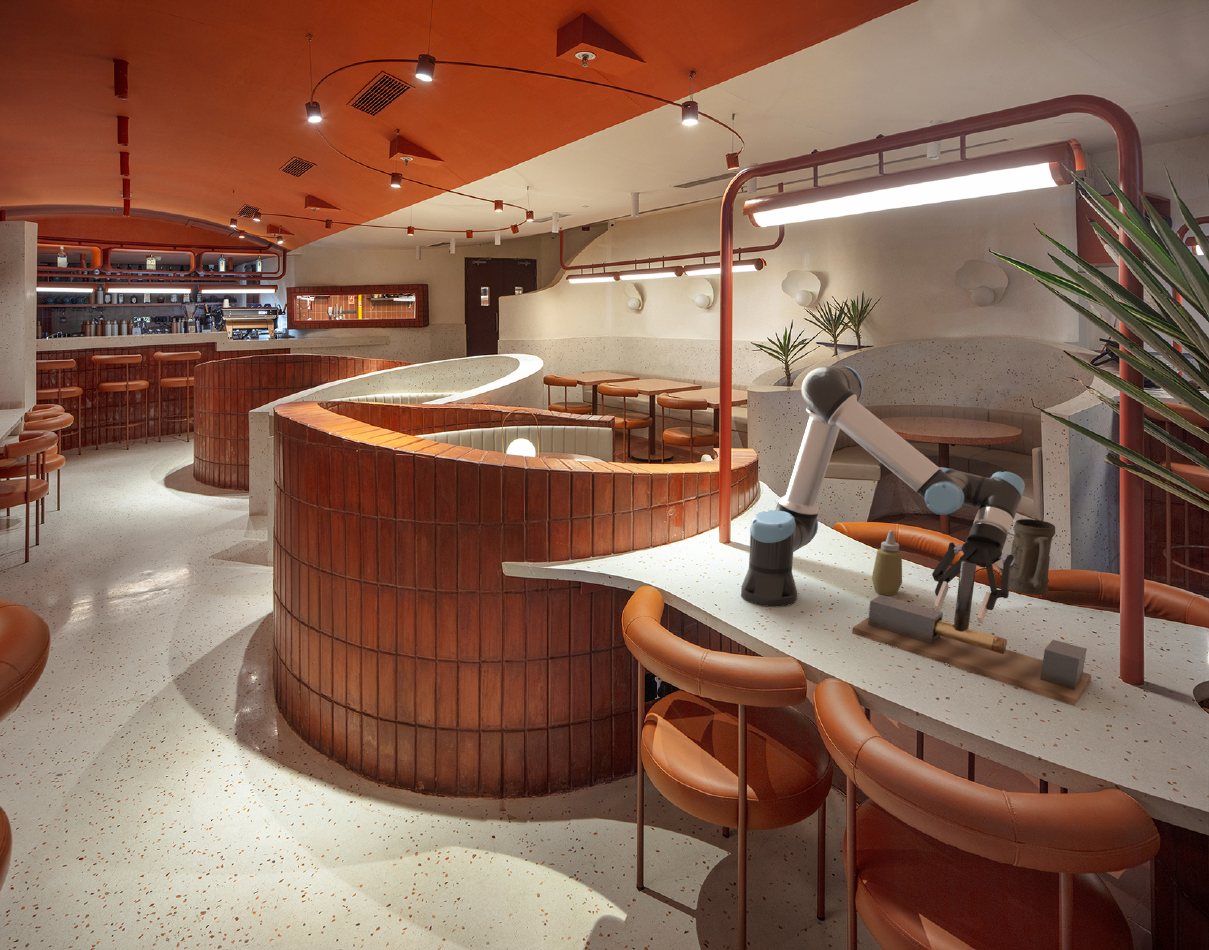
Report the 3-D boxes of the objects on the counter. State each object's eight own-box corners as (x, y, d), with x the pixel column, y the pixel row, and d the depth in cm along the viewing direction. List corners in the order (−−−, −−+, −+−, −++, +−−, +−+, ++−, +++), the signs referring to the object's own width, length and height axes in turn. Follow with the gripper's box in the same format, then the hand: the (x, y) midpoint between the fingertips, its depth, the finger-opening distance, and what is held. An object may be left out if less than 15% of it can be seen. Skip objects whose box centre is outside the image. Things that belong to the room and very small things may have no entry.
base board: (852, 633, 165) (852, 627, 165) (876, 616, 175) (877, 611, 175) (1074, 705, 133) (1076, 698, 133) (1090, 680, 143) (1091, 674, 142)
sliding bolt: (878, 619, 165) (885, 546, 162) (884, 615, 168) (891, 543, 164) (1000, 656, 147) (1011, 574, 143) (1005, 651, 149) (1016, 570, 145)
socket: (1040, 679, 140) (1044, 649, 139) (1048, 668, 145) (1052, 639, 143) (1074, 690, 136) (1079, 659, 135) (1081, 678, 141) (1086, 648, 139)
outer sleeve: (868, 624, 166) (870, 600, 165) (878, 618, 170) (880, 594, 169) (931, 644, 156) (934, 619, 155) (940, 637, 160) (943, 612, 159)
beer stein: (996, 579, 202) (1007, 516, 196) (1034, 581, 201) (1045, 517, 195) (1022, 603, 187) (1034, 535, 182) (1063, 604, 186) (1076, 536, 181)
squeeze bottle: (904, 598, 187) (910, 536, 184) (873, 595, 189) (879, 534, 185) (897, 587, 195) (903, 527, 191) (868, 585, 197) (873, 526, 193)
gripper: (1043, 549, 153) (1012, 636, 145) (945, 530, 168) (913, 608, 160) (1039, 531, 148) (1008, 620, 141) (939, 513, 163) (906, 593, 155)
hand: (957, 614), depth 150 cm, fingers open, 8 cm apart
